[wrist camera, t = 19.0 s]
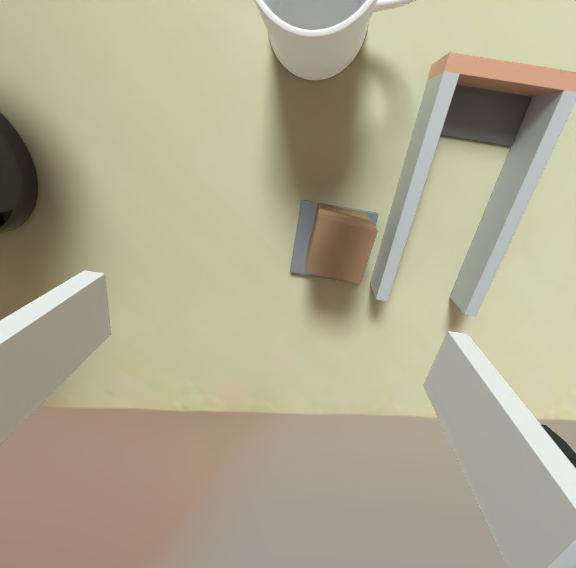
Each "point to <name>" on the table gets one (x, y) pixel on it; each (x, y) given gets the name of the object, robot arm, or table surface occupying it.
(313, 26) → the mug
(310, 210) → the coaster
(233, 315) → the table surface
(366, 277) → the table surface
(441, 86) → the channel
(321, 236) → the block
